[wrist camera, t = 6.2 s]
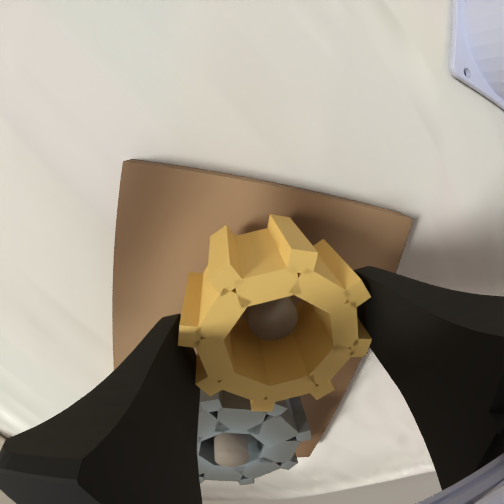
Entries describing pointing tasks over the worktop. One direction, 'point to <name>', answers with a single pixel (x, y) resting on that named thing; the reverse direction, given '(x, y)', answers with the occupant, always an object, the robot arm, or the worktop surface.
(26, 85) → the worktop surface
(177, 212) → the gear board
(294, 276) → the ochre gear
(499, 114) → the worktop surface
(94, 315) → the worktop surface
